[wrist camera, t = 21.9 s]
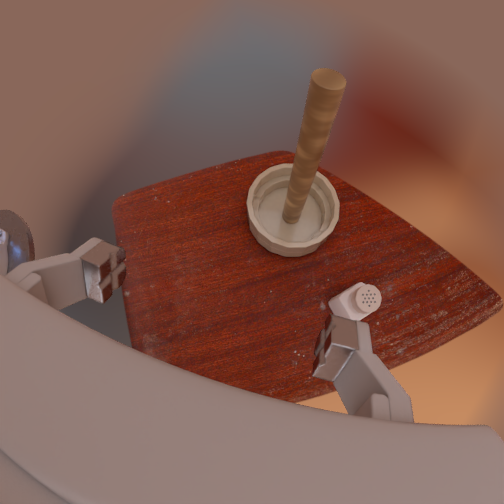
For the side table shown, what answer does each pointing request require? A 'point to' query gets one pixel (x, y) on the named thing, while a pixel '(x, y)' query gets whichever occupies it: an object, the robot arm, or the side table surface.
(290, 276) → the side table surface
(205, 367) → the side table surface
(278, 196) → the bowl
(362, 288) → the salt shaker
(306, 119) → the stirring stick
